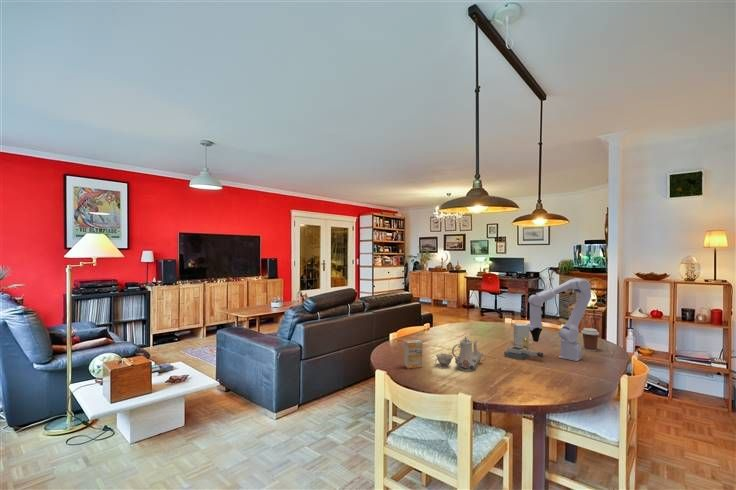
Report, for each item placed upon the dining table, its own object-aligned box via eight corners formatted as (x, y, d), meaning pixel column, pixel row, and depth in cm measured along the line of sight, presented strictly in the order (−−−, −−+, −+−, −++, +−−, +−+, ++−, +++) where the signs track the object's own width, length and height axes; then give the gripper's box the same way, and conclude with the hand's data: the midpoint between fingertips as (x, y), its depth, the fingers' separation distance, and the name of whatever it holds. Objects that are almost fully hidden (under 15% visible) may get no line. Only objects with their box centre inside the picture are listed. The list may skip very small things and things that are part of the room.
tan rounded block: (530, 353, 206) (530, 337, 206) (526, 354, 202) (526, 338, 202) (524, 351, 208) (524, 336, 208) (520, 353, 205) (520, 337, 205)
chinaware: (476, 362, 196) (473, 331, 198) (497, 368, 180) (494, 334, 182) (431, 368, 186) (429, 335, 188) (449, 375, 170) (447, 340, 172)
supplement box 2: (525, 342, 228) (525, 322, 228) (529, 345, 221) (529, 325, 221) (513, 342, 229) (513, 322, 229) (517, 345, 222) (516, 325, 222)
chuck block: (529, 356, 200) (529, 352, 200) (522, 360, 193) (522, 355, 193) (512, 352, 207) (512, 348, 207) (504, 356, 200) (504, 352, 200)
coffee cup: (596, 348, 215) (596, 328, 215) (602, 352, 206) (601, 331, 206) (579, 347, 217) (579, 327, 217) (584, 351, 208) (583, 330, 209)
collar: (545, 355, 193) (545, 351, 193) (540, 358, 187) (539, 354, 187) (513, 349, 205) (513, 345, 205) (507, 351, 200) (507, 347, 200)
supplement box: (407, 369, 180) (407, 342, 181) (404, 366, 185) (404, 340, 185) (422, 367, 183) (422, 341, 183) (419, 364, 187) (418, 339, 187)
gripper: (533, 314, 206) (533, 337, 206) (522, 317, 196) (523, 342, 196) (546, 315, 201) (546, 340, 201) (536, 319, 191) (536, 344, 191)
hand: (535, 341), depth 198 cm, fingers closed
